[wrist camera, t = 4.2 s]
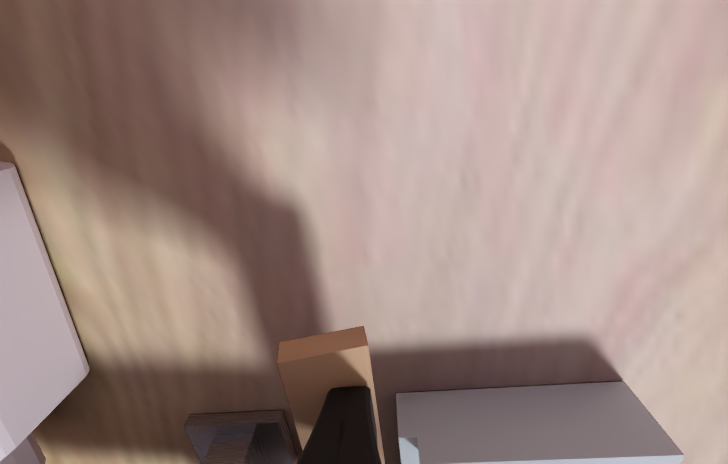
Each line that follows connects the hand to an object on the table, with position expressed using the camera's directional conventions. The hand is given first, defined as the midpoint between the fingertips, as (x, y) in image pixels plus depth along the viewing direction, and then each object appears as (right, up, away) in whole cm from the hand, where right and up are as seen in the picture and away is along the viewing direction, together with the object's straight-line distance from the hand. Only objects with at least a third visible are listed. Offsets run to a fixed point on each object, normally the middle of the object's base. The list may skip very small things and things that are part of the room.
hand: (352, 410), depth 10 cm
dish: (+7, -6, +6) cm, 11 cm away
